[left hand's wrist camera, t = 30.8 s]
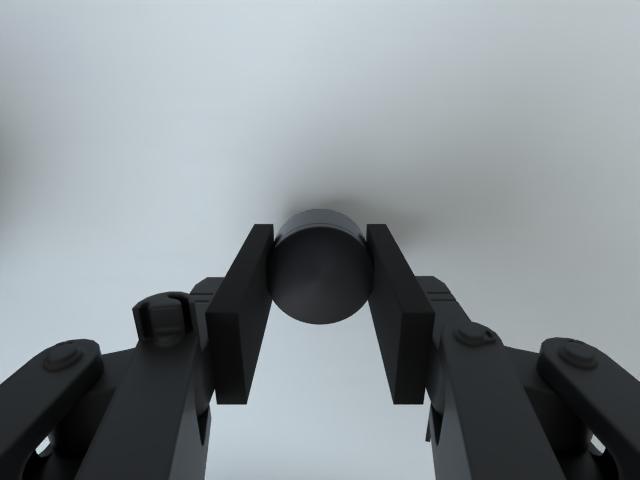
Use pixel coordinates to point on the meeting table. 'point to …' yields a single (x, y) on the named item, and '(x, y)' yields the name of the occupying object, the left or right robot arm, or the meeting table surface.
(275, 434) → the meeting table surface
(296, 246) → the cap
